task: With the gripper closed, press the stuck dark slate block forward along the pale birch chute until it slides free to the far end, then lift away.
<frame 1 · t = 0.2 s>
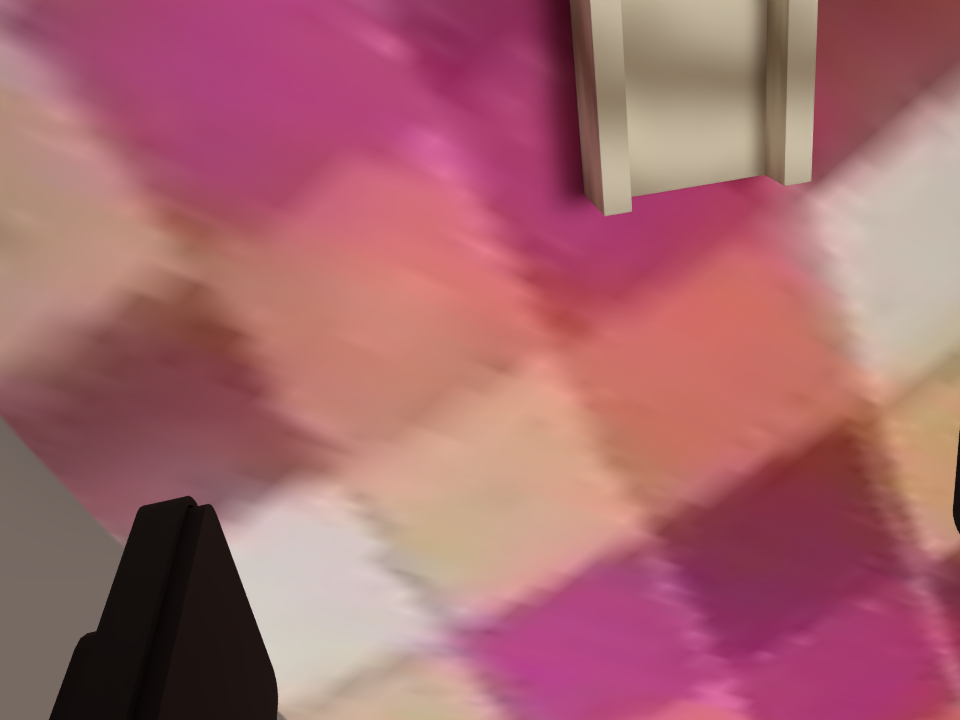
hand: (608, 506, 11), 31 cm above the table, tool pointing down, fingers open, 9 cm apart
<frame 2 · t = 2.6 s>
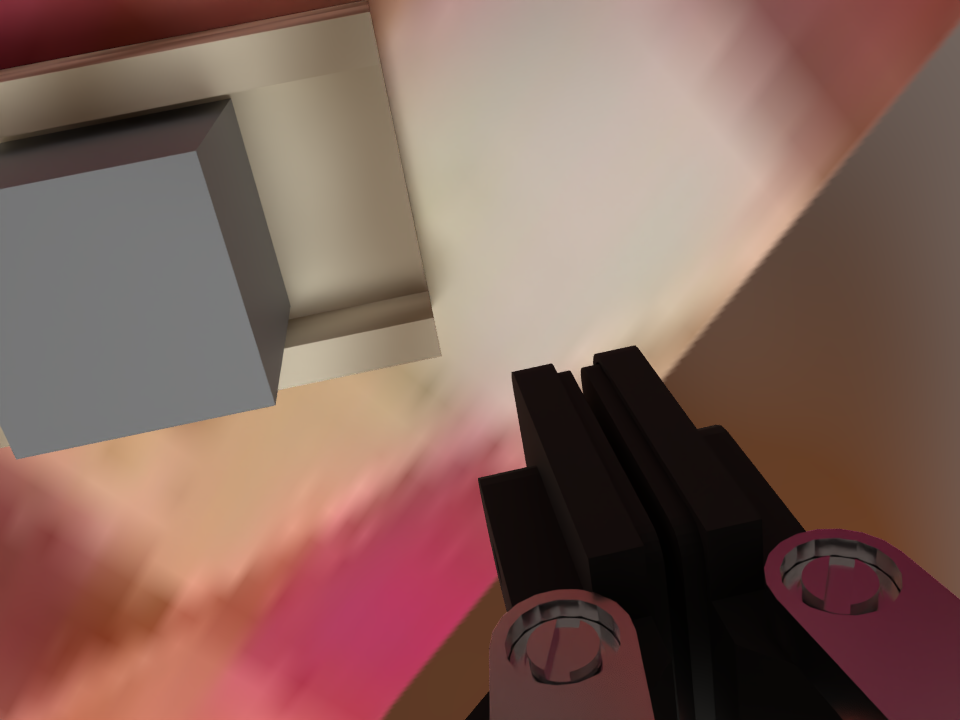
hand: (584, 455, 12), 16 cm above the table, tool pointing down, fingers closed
slate block: (130, 266, 22), point 4 cm above the table, slide at 0.0 cm, touching birch chute
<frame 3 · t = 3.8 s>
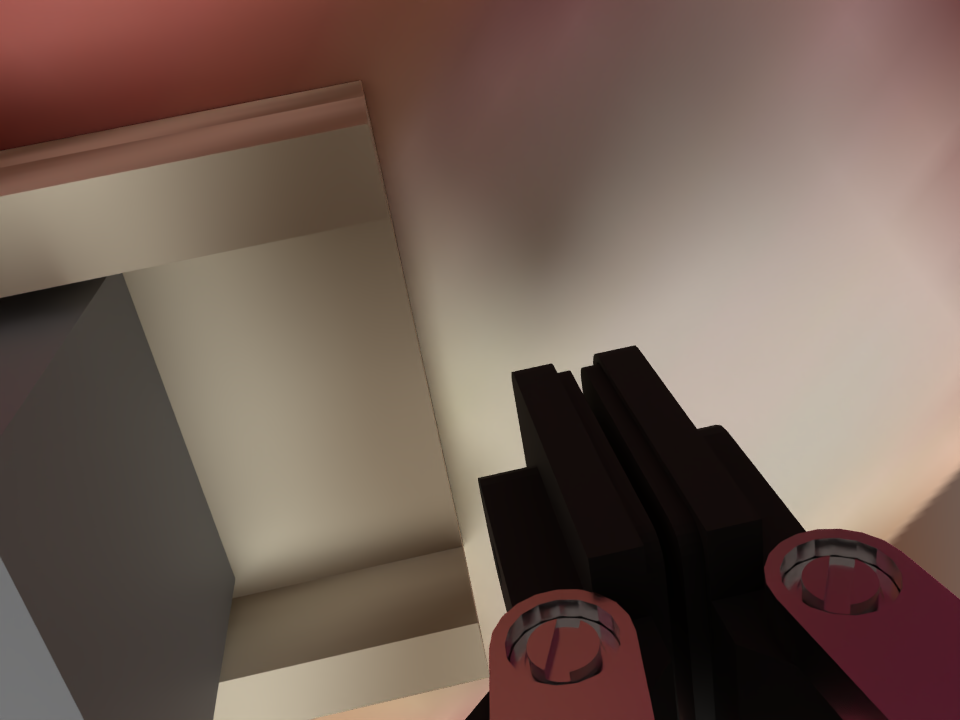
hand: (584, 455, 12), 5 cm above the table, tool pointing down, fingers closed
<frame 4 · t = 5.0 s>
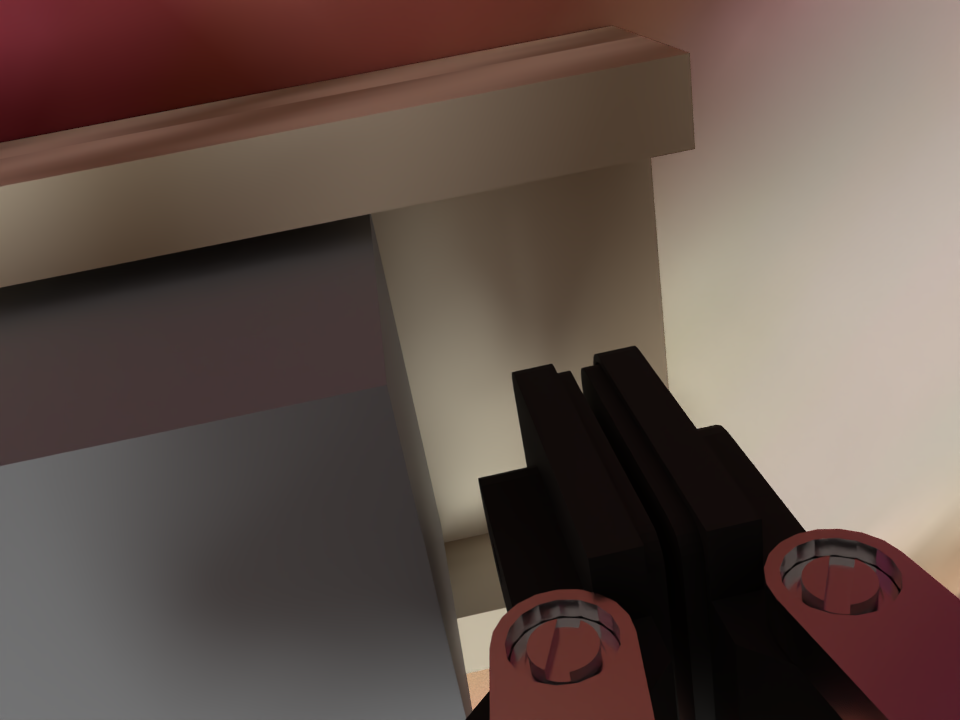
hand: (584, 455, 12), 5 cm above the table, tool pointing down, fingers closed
slate block: (199, 526, 12), point 4 cm above the table, slide at 0.3 cm, touching birch chute, gripper
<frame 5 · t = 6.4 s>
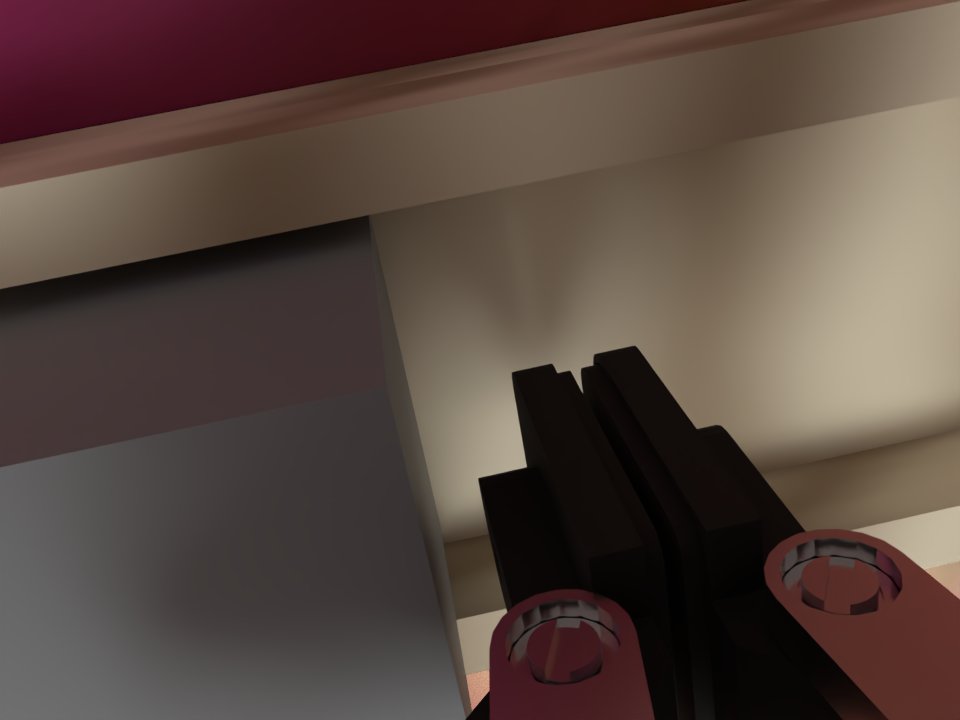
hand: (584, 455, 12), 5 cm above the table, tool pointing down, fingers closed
birch chute: (363, 349, 16), on the table
slate block: (199, 527, 12), point 4 cm above the table, slide at 8.3 cm, touching birch chute, gripper
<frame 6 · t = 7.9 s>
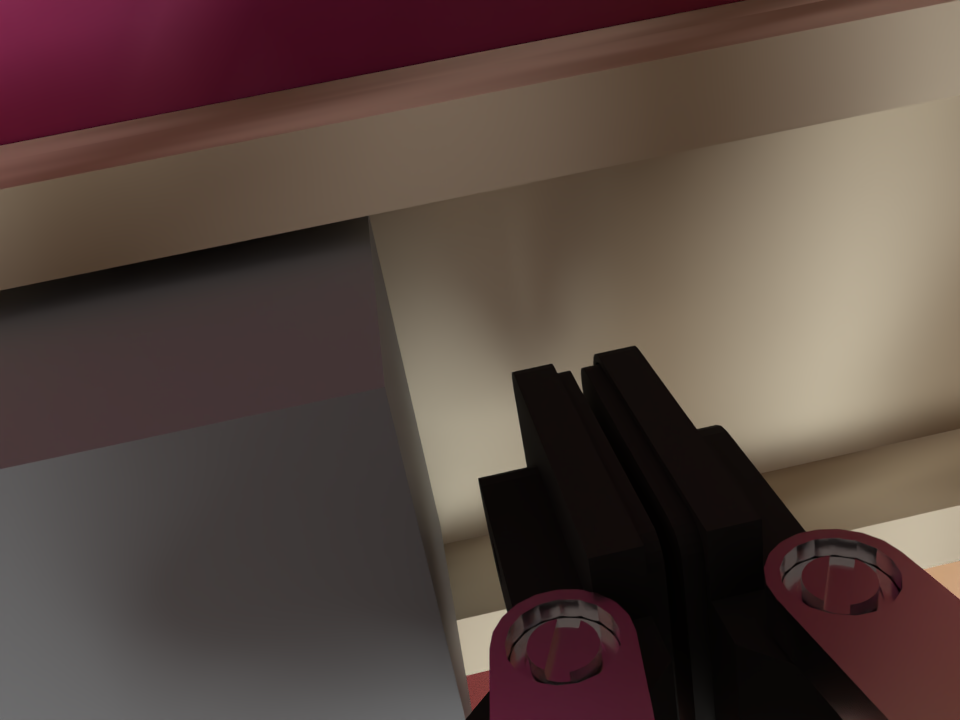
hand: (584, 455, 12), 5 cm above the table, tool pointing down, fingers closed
birch chute: (657, 288, 16), on the table
slate block: (198, 529, 12), point 4 cm above the table, slide at 13.7 cm, touching birch chute, gripper
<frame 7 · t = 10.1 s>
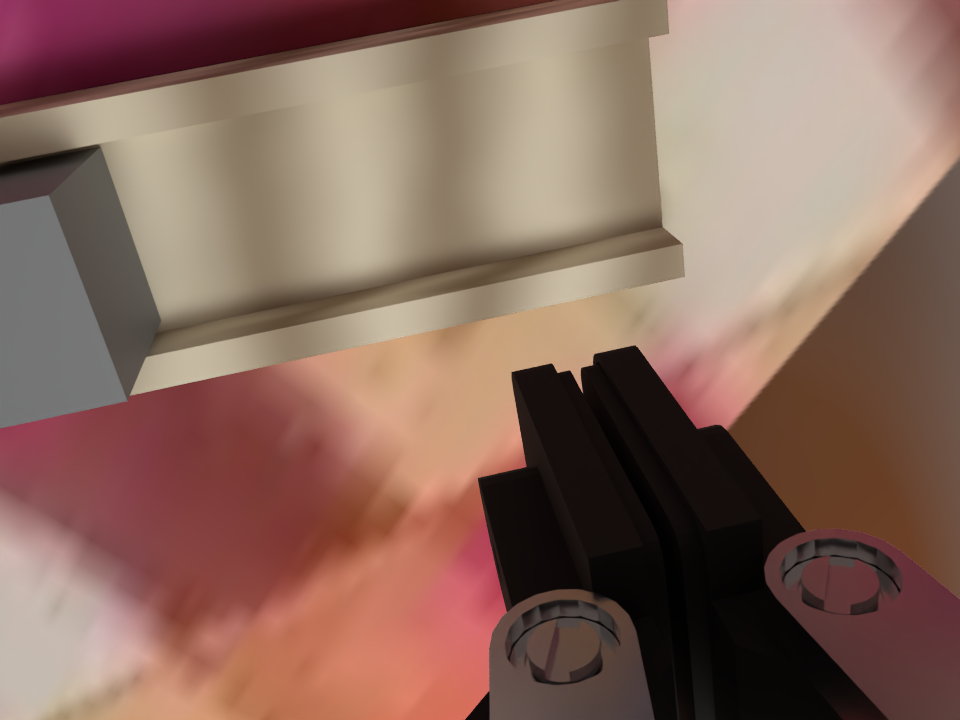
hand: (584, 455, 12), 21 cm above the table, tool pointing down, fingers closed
birch chute: (279, 196, 31), on the table
slate block: (10, 288, 26), point 4 cm above the table, slide at 13.8 cm, touching birch chute
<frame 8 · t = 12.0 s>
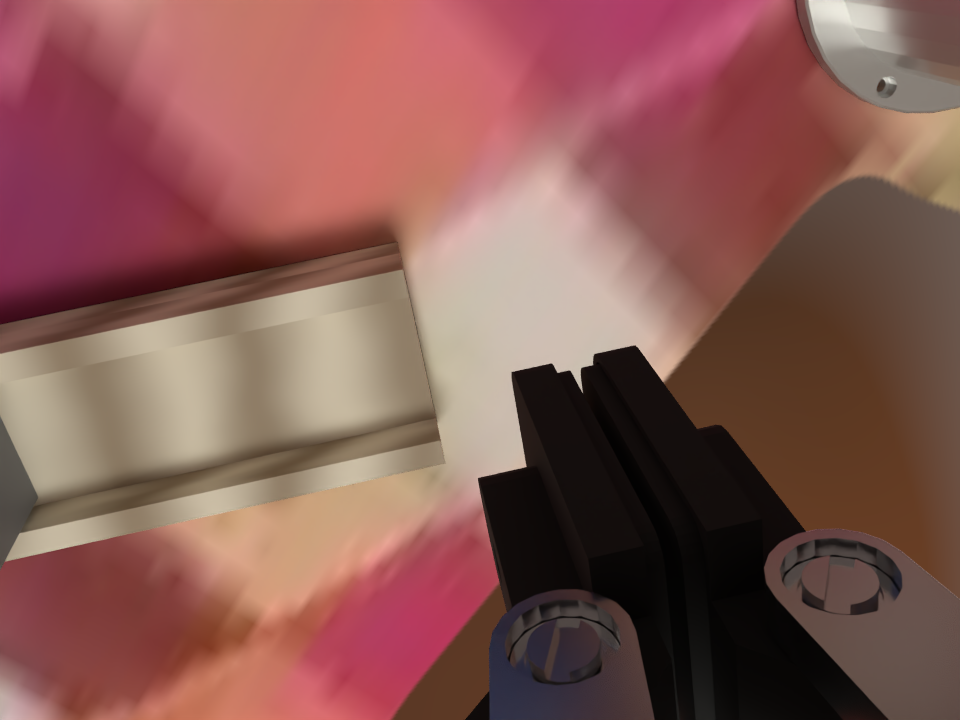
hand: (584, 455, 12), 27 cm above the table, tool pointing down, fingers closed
birch chute: (130, 399, 40), on the table
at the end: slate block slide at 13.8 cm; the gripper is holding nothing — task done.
